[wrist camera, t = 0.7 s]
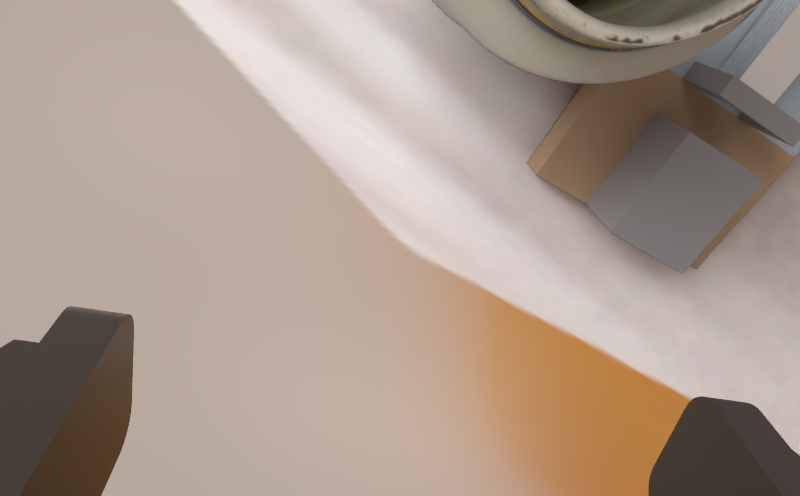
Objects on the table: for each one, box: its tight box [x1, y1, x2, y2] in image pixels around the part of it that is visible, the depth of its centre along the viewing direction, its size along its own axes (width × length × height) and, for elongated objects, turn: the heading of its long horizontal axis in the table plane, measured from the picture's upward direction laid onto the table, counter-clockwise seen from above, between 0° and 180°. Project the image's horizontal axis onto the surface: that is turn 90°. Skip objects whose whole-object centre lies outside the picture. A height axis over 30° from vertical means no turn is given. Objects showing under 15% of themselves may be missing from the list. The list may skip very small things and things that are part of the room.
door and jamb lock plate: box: [527, 0, 800, 274], centre depth 31 cm, size 22×12×6 cm, turn 149°
